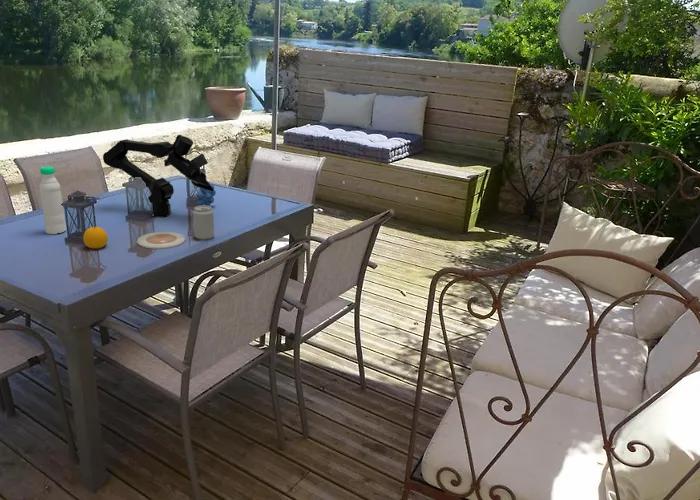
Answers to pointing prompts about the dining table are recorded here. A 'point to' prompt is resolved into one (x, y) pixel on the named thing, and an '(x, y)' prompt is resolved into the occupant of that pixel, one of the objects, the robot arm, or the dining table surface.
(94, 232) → the orange
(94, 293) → the dining table surface
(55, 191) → the milk bottle
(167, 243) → the saucer
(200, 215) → the can
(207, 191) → the grapes
